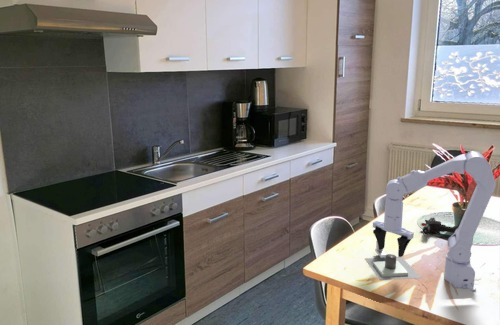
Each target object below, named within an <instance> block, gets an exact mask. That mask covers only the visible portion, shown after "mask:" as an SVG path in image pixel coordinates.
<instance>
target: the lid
mask: <svg viewBox="0 0 500 325" xmlns="http://www.w3.org/2000/svg"><path fill="white" fill-rule="evenodd" d="M396 257H397V256H396V255H395V254H390V253H389V254H388V253H387V254H386V256H385V261H382V262H373V265H374V266H375V268H376V269H377V270H378V272H379V273H380V274H381V276H382V277H384V276H405V275H408V272H407V271H406V269H405V268H404V267H403V266H402V265H401V264H400V263H399V261H396Z"/></svg>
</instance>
